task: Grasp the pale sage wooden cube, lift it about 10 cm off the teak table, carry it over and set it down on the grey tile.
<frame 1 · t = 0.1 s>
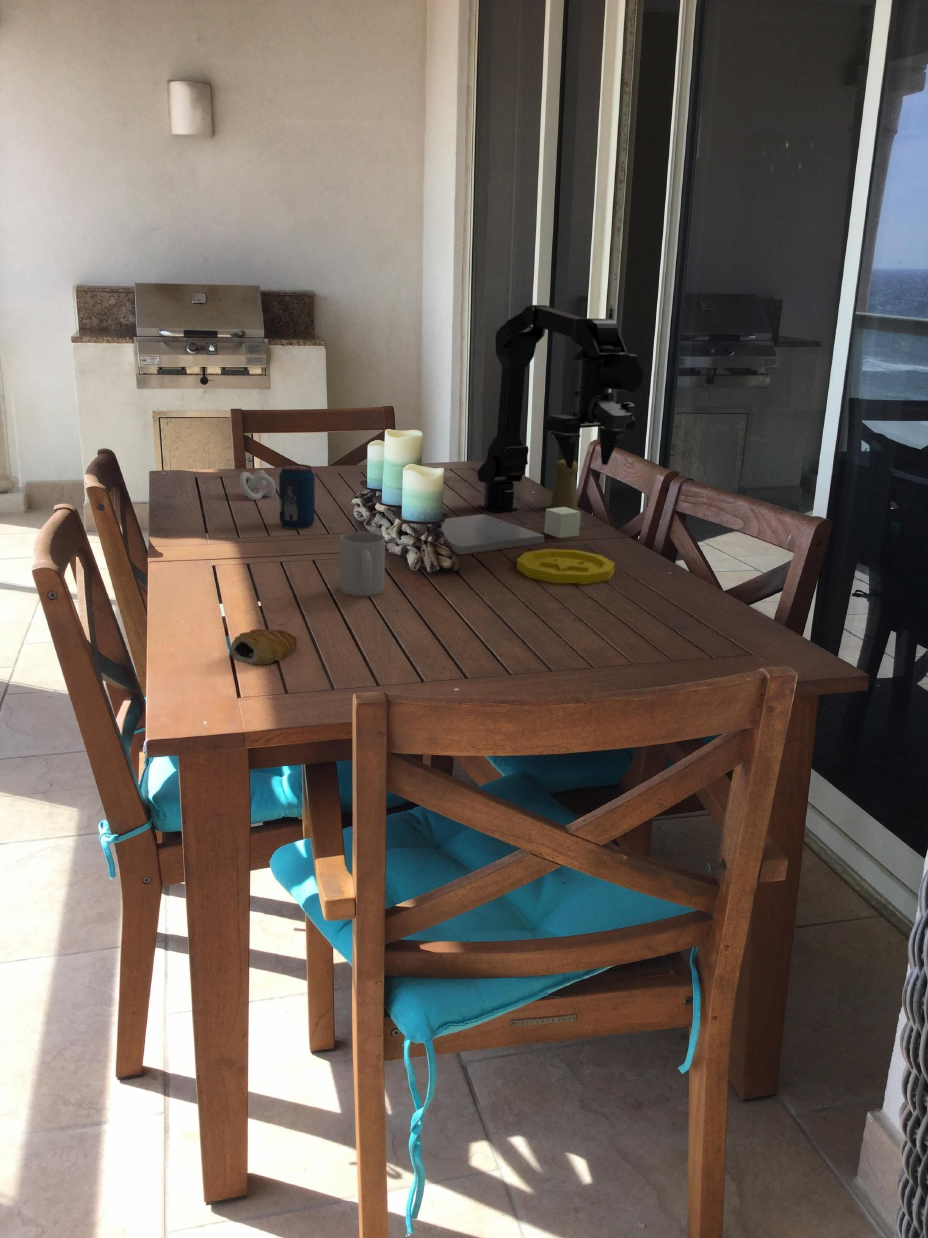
hand: (587, 466, 207), 14 cm above the table, fingers open, 9 cm apart
soda can: (297, 526, 211), on the table
cork: (563, 509, 237), on the table
sage cube: (561, 534, 214), on the table
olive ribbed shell: (263, 657, 142), on the table
decorative disc: (565, 573, 188), on the table
cup: (363, 594, 170), on the table
knot: (256, 498, 234), on the table
grey tile: (472, 536, 208), on the table
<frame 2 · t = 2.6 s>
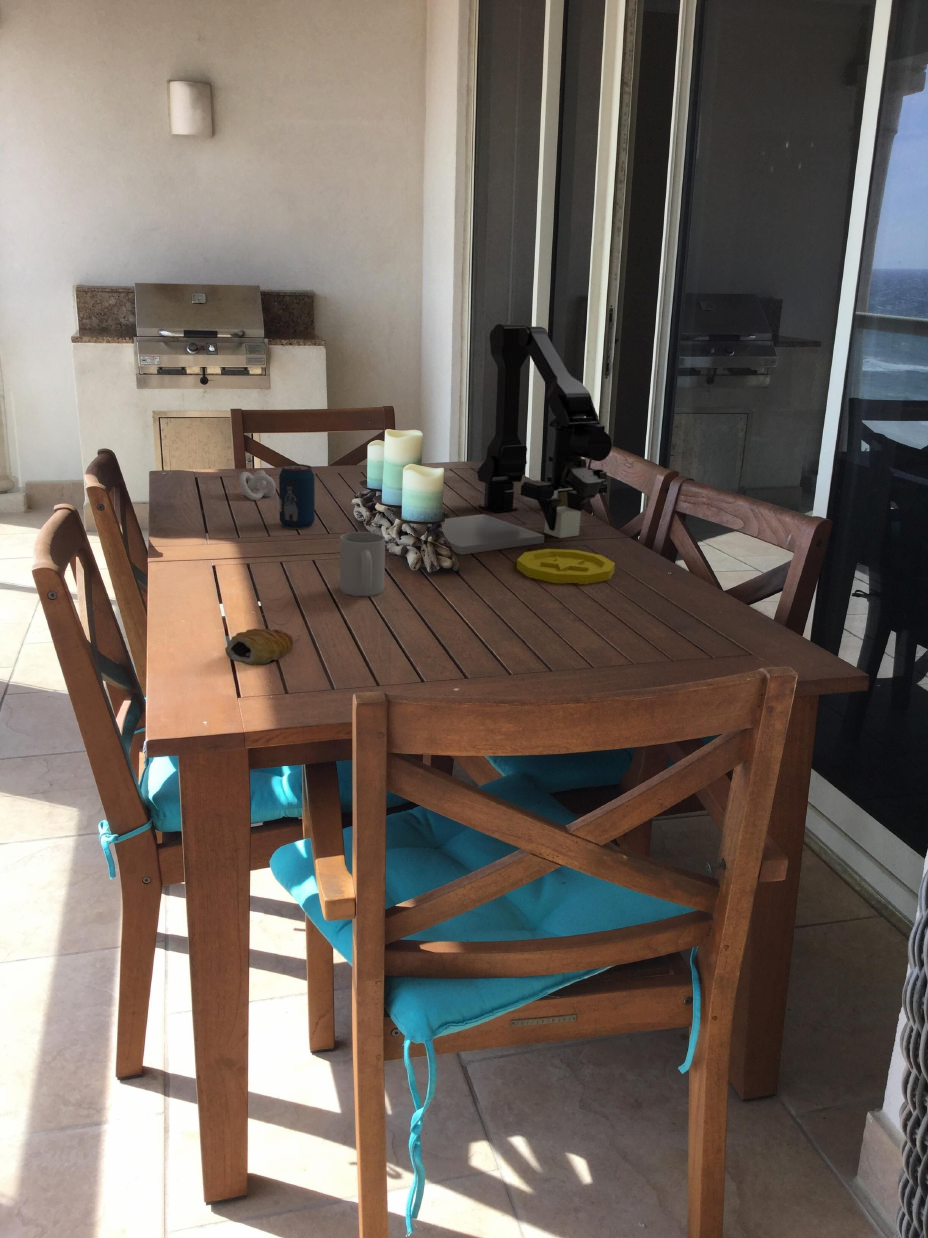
hand: (561, 528, 213), 1 cm above the table, fingers closed on sage cube, 5 cm apart
sage cube: (561, 533, 214), on the table, touching gripper
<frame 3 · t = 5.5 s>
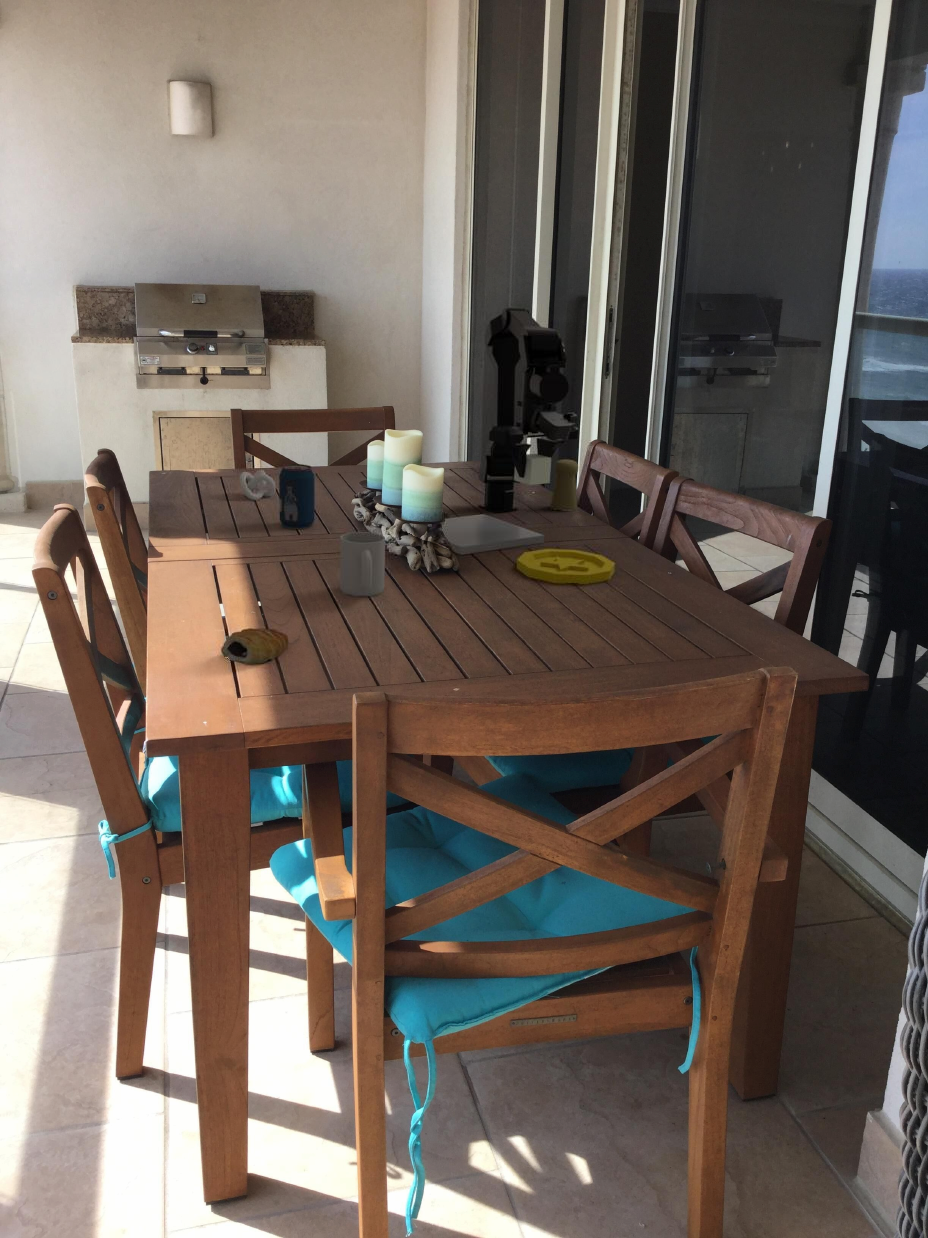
hand: (531, 476, 208), 12 cm above the table, fingers closed on sage cube, 5 cm apart
sage cube: (531, 481, 208), point 11 cm above the table, touching gripper
when the fingers open (4 cm above the table, at t = 8.5 s): sage cube drops 1 cm, resting on grey tile.
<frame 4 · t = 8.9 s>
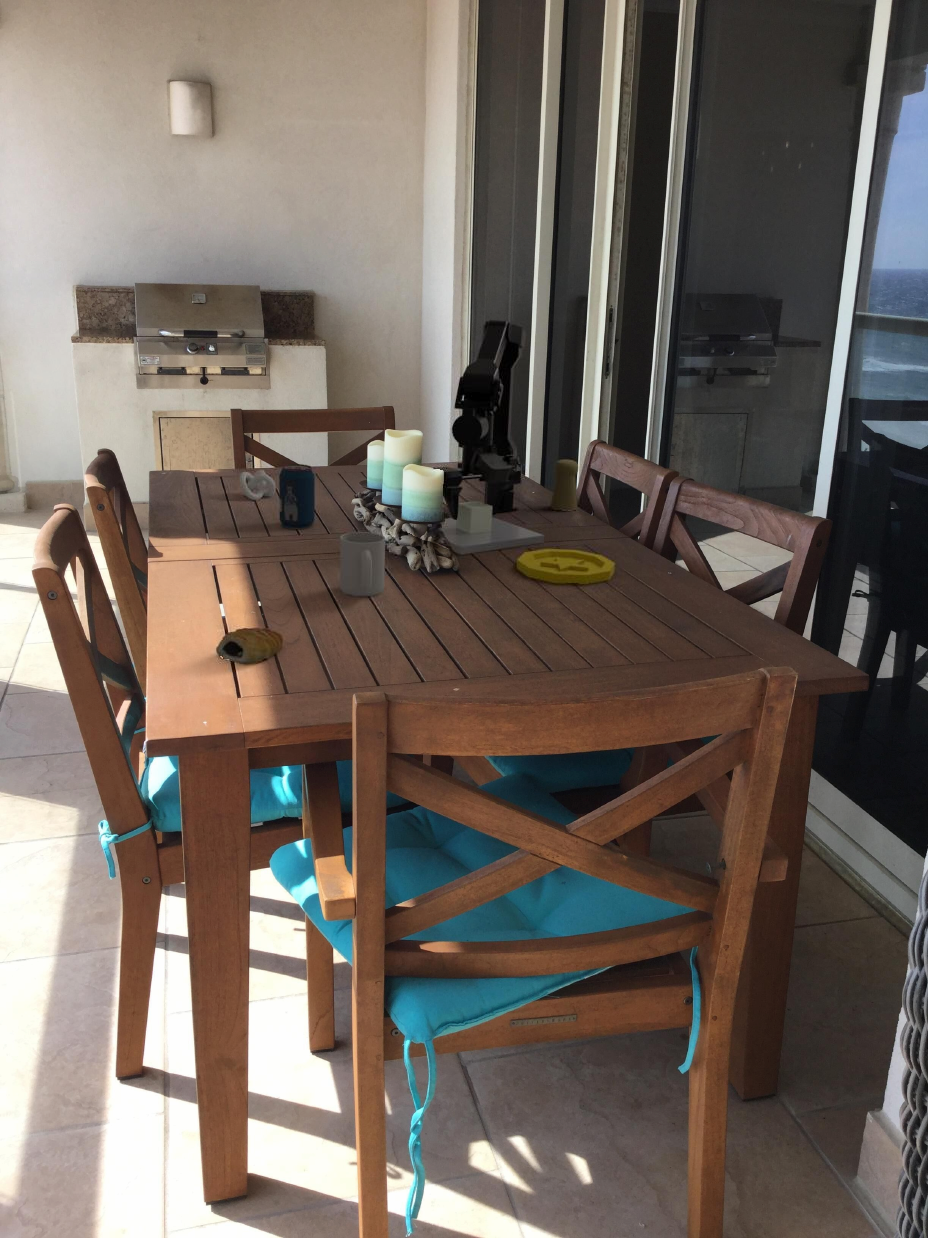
hand: (473, 517, 207), 4 cm above the table, fingers open, 9 cm apart
sage cube: (473, 529, 208), point 1 cm above the table, touching grey tile
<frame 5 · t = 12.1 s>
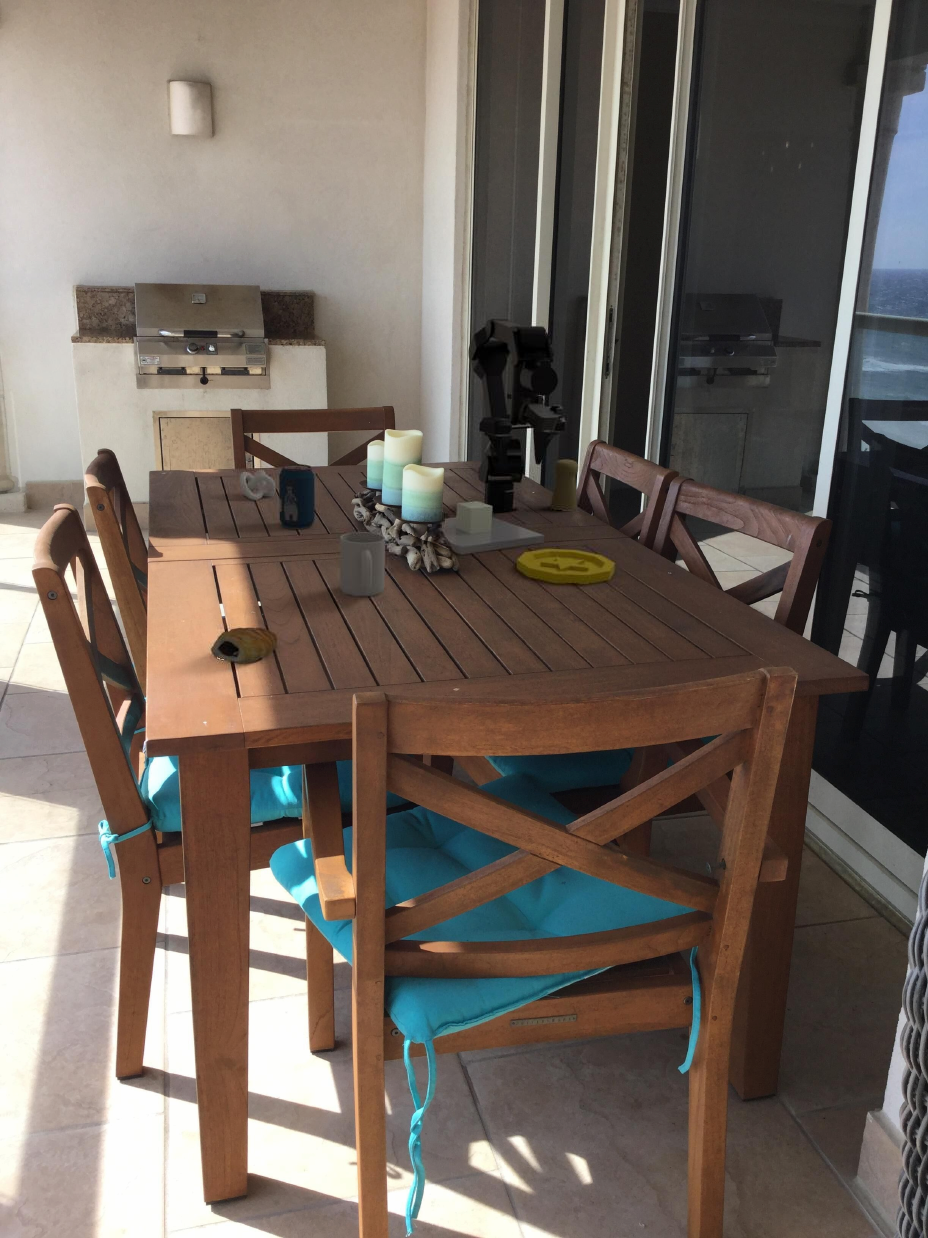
hand: (520, 465, 218), 12 cm above the table, fingers open, 9 cm apart
at the end: sage cube inside the target area on the grey tile (0.1 cm from its centre), point 1.5 cm above the grey tile's base; sage cube tilted 0°; the gripper is holding nothing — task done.
